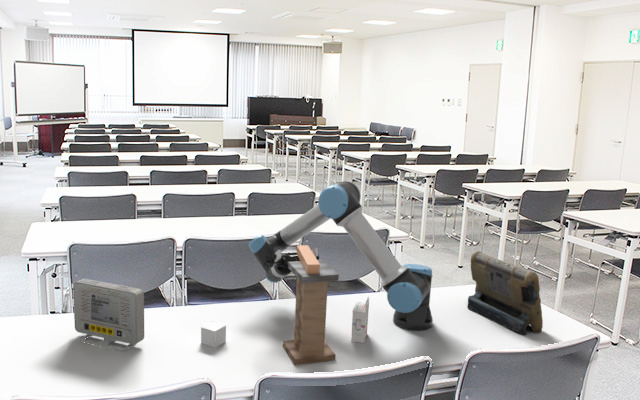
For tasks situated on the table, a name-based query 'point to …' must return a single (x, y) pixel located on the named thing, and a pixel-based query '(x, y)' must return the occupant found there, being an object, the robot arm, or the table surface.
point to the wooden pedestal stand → (310, 315)
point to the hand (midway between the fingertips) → (298, 252)
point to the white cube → (213, 334)
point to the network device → (109, 313)
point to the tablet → (505, 294)
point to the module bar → (308, 259)
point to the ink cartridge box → (360, 322)
